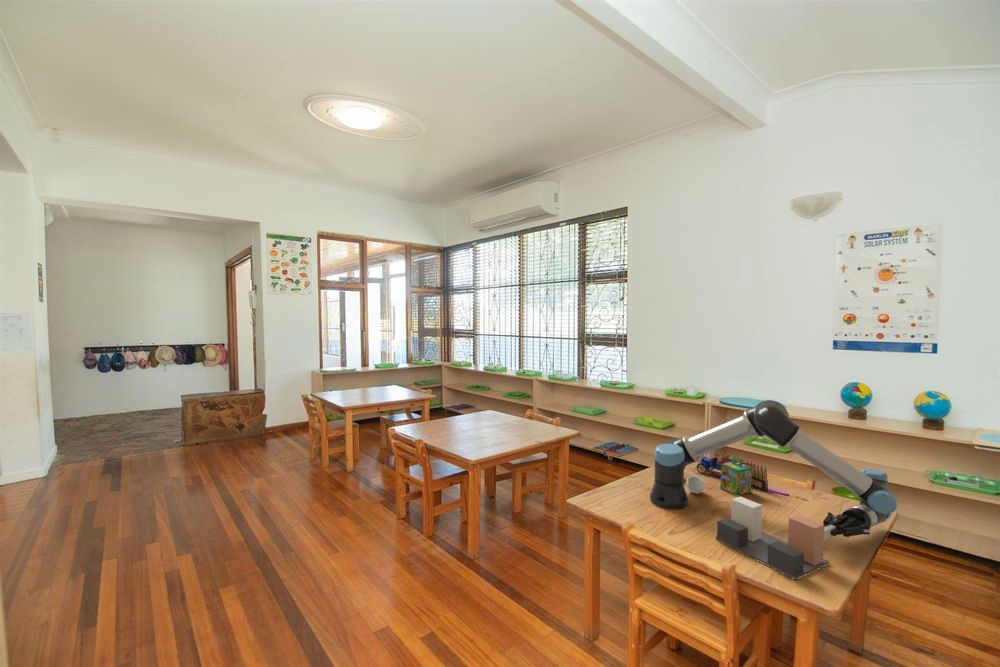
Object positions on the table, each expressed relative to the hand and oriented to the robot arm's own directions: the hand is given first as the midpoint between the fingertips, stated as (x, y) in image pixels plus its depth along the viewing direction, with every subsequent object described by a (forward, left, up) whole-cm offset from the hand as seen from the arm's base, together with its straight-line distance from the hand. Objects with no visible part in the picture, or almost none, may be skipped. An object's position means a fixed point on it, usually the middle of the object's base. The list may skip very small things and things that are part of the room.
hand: (822, 533), depth 148 cm
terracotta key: (-9, -5, -5) cm, 11 cm away
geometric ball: (-23, +49, -7) cm, 54 cm away
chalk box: (-4, +52, -7) cm, 52 cm away
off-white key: (-21, +9, -5) cm, 23 cm away
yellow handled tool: (+16, +48, -7) cm, 51 cm away
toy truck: (-2, +68, -7) cm, 69 cm away
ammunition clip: (+7, +56, -7) cm, 56 cm away
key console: (-17, +1, -7) cm, 18 cm away
